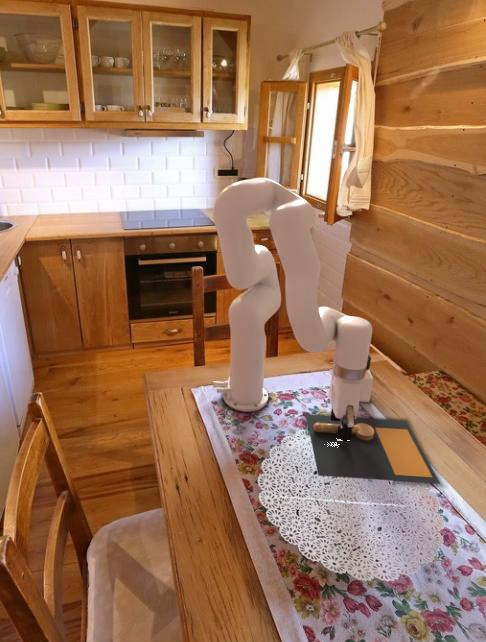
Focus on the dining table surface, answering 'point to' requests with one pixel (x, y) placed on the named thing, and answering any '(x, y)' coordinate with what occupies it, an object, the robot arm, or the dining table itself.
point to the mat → (371, 452)
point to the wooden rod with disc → (359, 430)
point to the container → (366, 384)
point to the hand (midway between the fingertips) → (339, 429)
